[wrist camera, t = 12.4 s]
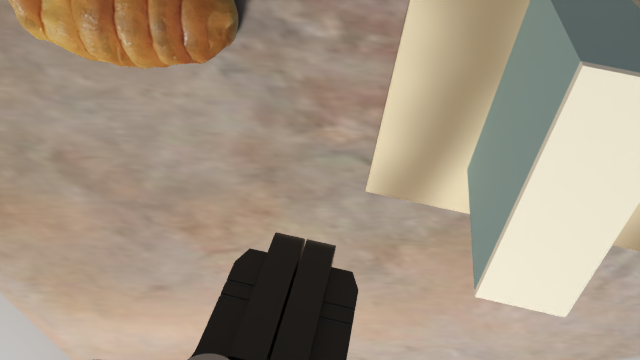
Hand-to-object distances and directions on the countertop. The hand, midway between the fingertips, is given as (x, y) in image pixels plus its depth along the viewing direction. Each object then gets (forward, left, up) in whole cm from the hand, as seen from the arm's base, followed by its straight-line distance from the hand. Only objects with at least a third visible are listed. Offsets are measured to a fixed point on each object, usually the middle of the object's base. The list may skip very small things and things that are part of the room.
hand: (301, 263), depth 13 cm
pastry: (-11, +1, -14) cm, 18 cm away
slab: (+7, 0, -13) cm, 15 cm away
